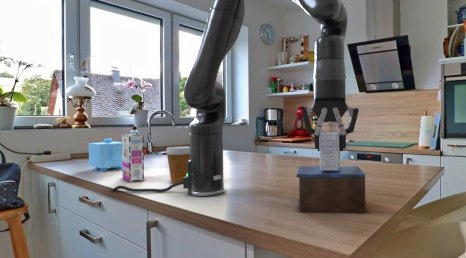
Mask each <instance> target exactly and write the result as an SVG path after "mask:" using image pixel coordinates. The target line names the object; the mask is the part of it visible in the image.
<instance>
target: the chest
mask: <svg viewBox="0 0 466 258" xmlns="http://www.w3.org/2000/svg"><path fill="white" fill-rule="evenodd" d="M298 178H299V179H298V182H299V183H298V189H299V193H298V195H299V198H298V199H299V213H346V214H347V213H351V214H352V213H354V214H357V213H358V214H361V213H362V214H366V177H365V178H363V177H298Z"/></svg>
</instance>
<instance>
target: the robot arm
mask: <svg viewBox="0 0 466 258" xmlns="http://www.w3.org/2000/svg"><path fill="white" fill-rule="evenodd" d="M291 2H293V3H294V4H295V5H297V6H298V7H300V8H301V9H302V10H304V12H305V13H306V14H307V15H308V16H309V17H310V18H312V19H313V20H314V21H315V22H316V23H318V24H319V25H320V36H318V37H317V38H316V39H315V42H314V67H313V104H312V106H311V107H308V108H303V109H302V110H301V114H302V118H303V122H304V125H305V128H306V133H308V134H311V135H313V136H314V149H315V150H317V152H320V143H319V138H320V134H321V130H322V127H323V125H324V123H328V122H329V123H335V124H336V126H337V128H338V131H339V133H340V135H339V141H340V152H344V150H345V149H346V148H347V135H348V134H349V135H350V134H351V133H353V132H354V131H355V127H356V123H357V119H358V115H359V112H360V108H358V107H350V106H348V104H347V101H346V98H347V97H346V79H347V74H346V66H345V38H346V34H347V28H348V19H349V18H348V10H347V7H346V5H345V3H344V2H343V1H342V0H291ZM245 7H246V5H245V0H212V2H211V6H210V9H209V13H208V16H207V20H206V23H205V27H204V31H203V33H202V38H201V41H200V44H199V48H198V51H197V54H196V56H195V59H194V61H193V64H192V67H191V69H190V72H189V74H188V76H187V79H186V81H185V84H184V87H183V99H184V101H185V103H186V105H187V106H188V107H189V108H191V109H195V110H196V112H195V118H194V120H193V121H192V122H191V123H190V124H189V146H190V160H189V161H188V162H187V172H188V174H187V176H186V177H184V178H183V181H180V182H177V183H171V184H170V185H169V186H168V187H166V188H132V187H129V186H126V185H117V186H115V187H114V188H112V190H111V192H113V193H114V192H116V191H117V190H120V189H122V190H125V191H128V192H131V193H165V192H168V191H171V190H172V189H173V188H175V187H178V186H181V185H182V186H183V187H182V189H183V190H187V195H189V196H196V197H210V196H216V195H220V194H223V193H224V191H225V187H224V186H225V184H224V182H225V181H224V135H223V132H224V131H223V129H224V126H225V121H226V92H225V89H224V86H223V84H222V83H221V82H219V81H218V80H217V78H218V75H219V71H220V68H221V65H222V63H223V61H224V59H225V57H226V56H227V55H228V54H229V52H230V51H231V50H232V48H233V47H234V45H235V44H236V42H237V40H238V38H239V35H240V33H241V29H242V26H243V22H244V19H245V12H246V11H245V9H246V8H245ZM346 112H347V113H348V116H349V117H350V118H349V122H348V125H347V128H345V126H344V122H343V117H344V115H345V114H346ZM312 113H314V114H315V116H316V117H317V119H318V120H317V124H316V127H315V128H312V125H311V121H310V117H312Z"/></svg>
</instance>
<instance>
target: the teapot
mask: <svg viewBox="0 0 466 258" xmlns="http://www.w3.org/2000/svg"><path fill="white" fill-rule="evenodd" d="M103 141H104V142H103ZM103 141H102V142H101V141H100V142H88V166H90V167H93V168H94V169H93V170H94V171H99V172H108V168H110V169H116V170H122V141H113V138H111V137H110V138H104V140H103Z"/></svg>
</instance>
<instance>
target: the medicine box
mask: <svg viewBox="0 0 466 258" xmlns="http://www.w3.org/2000/svg"><path fill="white" fill-rule="evenodd" d="M339 135H340V132H337V131H336V132H335V131H334V132H333V131H332V132H330V131H329V132H322V133H320V138H319V143H320V151H319V166H320V170H321V171H339V167H340V166H341V151H340V141H339Z"/></svg>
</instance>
